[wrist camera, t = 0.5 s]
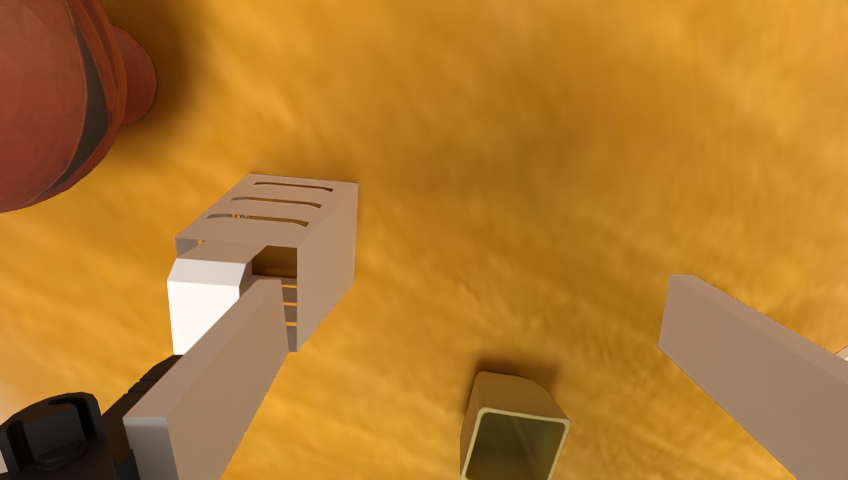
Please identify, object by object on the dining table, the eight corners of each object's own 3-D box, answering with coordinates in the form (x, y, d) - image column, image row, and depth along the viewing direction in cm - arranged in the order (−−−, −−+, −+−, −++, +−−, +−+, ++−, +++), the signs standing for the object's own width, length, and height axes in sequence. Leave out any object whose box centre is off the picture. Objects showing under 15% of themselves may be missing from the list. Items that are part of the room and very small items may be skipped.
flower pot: (544, 364, 46) (573, 422, 38) (524, 427, 49) (547, 495, 40) (468, 352, 46) (480, 407, 37) (451, 416, 48) (459, 482, 40)
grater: (252, 275, 43) (118, 406, 24) (248, 173, 40) (92, 229, 21) (354, 283, 43) (303, 418, 24) (358, 183, 40) (305, 247, 21)
